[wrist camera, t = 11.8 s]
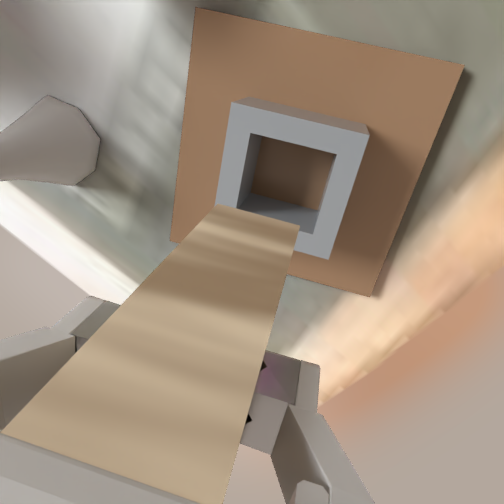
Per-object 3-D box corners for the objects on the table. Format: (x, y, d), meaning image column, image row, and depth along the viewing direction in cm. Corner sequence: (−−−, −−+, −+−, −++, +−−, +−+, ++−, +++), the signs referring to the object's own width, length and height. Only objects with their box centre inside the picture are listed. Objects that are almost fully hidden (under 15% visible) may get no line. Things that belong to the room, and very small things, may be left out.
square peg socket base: (200, 8, 27) (165, -6, 22) (460, 65, 25) (490, 64, 20) (174, 236, 35) (144, 266, 30) (369, 291, 34) (373, 333, 28)
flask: (115, 137, 33) (30, 163, 24) (79, 198, 36) (-6, 241, 27) (44, 78, 32) (-71, 82, 23) (14, 145, 35) (-97, 172, 26)
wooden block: (217, 203, 16) (-220, 664, 4) (300, 225, 16) (133, 821, 3) (205, 275, 18) (-127, 767, 5) (280, 296, 17) (116, 880, 5)
